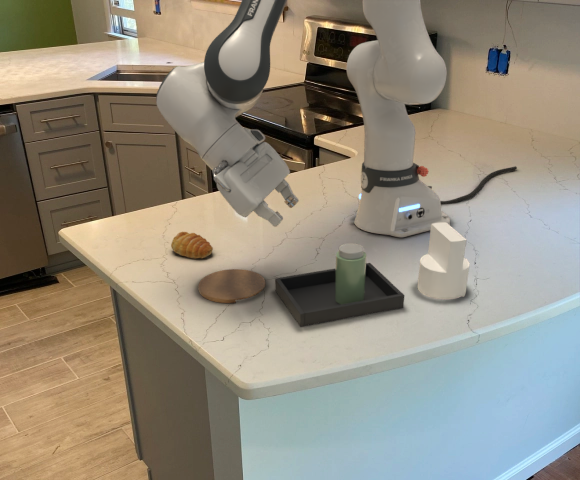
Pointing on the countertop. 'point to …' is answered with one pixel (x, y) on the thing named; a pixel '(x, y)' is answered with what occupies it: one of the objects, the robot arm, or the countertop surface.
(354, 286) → the salt shaker
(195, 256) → the pastry
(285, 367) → the countertop surface
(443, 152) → the countertop surface
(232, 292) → the coaster
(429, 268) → the base with upright slab
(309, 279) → the tray
